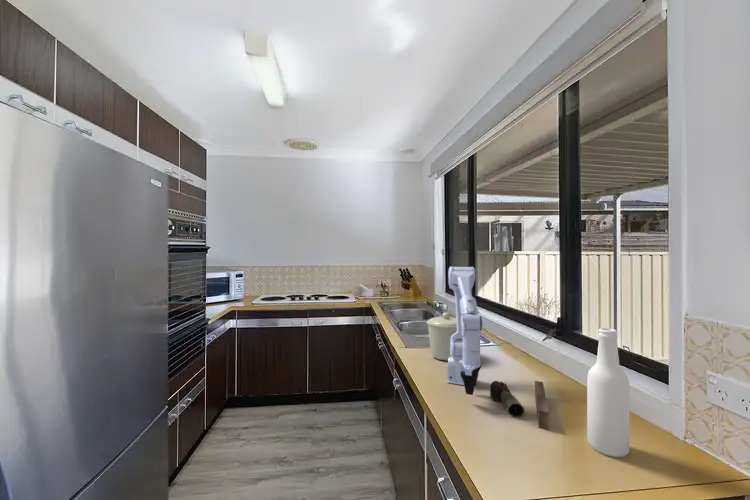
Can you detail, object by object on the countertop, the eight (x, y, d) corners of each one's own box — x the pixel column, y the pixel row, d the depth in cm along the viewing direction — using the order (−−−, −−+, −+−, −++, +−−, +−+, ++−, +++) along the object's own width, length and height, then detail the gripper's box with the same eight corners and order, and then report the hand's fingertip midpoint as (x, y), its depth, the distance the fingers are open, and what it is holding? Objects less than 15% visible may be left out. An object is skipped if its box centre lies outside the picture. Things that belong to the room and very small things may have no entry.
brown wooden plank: (538, 427, 95) (538, 410, 95) (534, 394, 117) (534, 380, 117) (548, 429, 94) (548, 412, 94) (542, 396, 116) (542, 382, 116)
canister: (470, 364, 149) (470, 316, 149) (429, 363, 149) (429, 315, 149) (460, 351, 167) (460, 309, 167) (423, 351, 167) (424, 309, 168)
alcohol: (579, 444, 87) (580, 327, 87) (598, 435, 92) (598, 324, 92) (617, 462, 80) (618, 335, 80) (636, 452, 84) (636, 331, 84)
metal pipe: (524, 418, 101) (524, 399, 101) (501, 417, 102) (501, 399, 102) (505, 393, 119) (504, 377, 119) (485, 392, 119) (485, 376, 119)
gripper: (462, 342, 122) (462, 380, 122) (455, 353, 109) (455, 396, 109) (482, 345, 120) (482, 383, 120) (478, 356, 106) (478, 400, 106)
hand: (471, 389), depth 114 cm, fingers open, 7 cm apart
